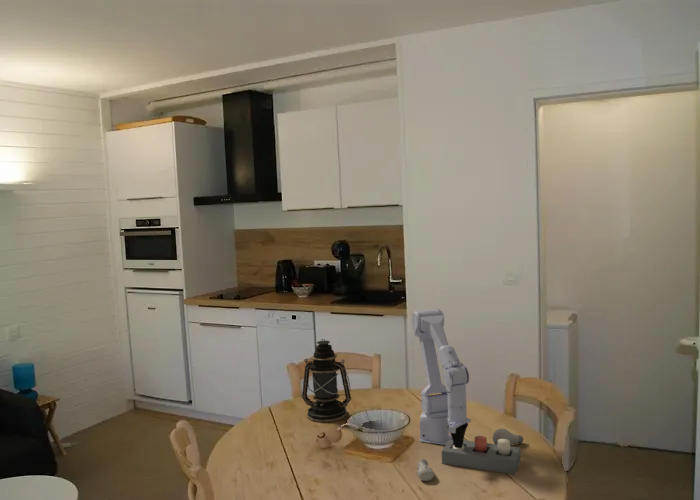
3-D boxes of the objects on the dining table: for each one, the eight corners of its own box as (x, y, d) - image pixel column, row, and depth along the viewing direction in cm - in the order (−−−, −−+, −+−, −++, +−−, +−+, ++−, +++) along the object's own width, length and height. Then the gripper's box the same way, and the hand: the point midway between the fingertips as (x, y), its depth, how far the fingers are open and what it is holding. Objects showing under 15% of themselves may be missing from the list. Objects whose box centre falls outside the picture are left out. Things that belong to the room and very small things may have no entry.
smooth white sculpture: (433, 487, 165) (416, 482, 166) (431, 473, 173) (414, 468, 174) (437, 473, 165) (420, 468, 165) (435, 460, 173) (418, 455, 173)
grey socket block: (442, 463, 177) (441, 450, 177) (450, 450, 186) (450, 438, 186) (515, 474, 168) (515, 461, 168) (520, 460, 177) (520, 447, 177)
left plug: (451, 459, 179) (451, 448, 179) (454, 454, 182) (454, 443, 182) (463, 461, 178) (462, 449, 177) (465, 456, 181) (465, 445, 181)
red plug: (473, 451, 176) (473, 439, 176) (476, 446, 179) (476, 435, 179) (485, 453, 174) (485, 441, 174) (488, 448, 178) (487, 436, 177)
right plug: (497, 454, 173) (496, 442, 173) (499, 449, 176) (498, 438, 176) (509, 456, 171) (508, 444, 171) (511, 451, 175) (510, 439, 174)
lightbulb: (530, 436, 186) (502, 435, 182) (525, 453, 187) (496, 451, 183) (520, 426, 191) (492, 424, 188) (515, 442, 193) (487, 440, 189)
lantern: (295, 421, 218) (291, 343, 215) (308, 406, 233) (304, 334, 231) (347, 424, 213) (343, 344, 210) (357, 408, 228) (353, 334, 226)
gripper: (464, 414, 170) (465, 458, 171) (475, 398, 184) (476, 439, 185) (441, 411, 173) (442, 455, 174) (453, 396, 187) (454, 436, 188)
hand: (458, 447), depth 180 cm, fingers closed, pressing on left plug
